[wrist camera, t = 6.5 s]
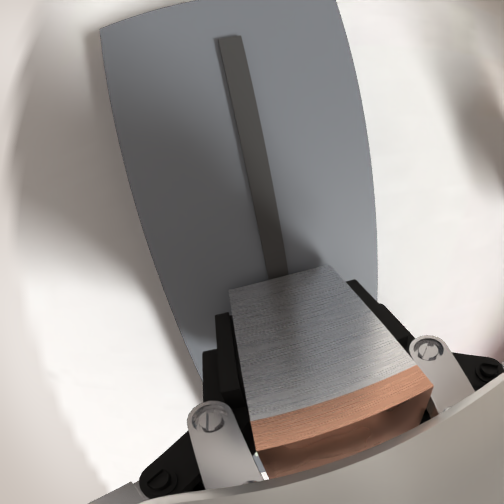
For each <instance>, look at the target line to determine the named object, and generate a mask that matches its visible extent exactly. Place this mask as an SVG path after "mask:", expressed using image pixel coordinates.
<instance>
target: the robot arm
mask: <svg viewBox="0 0 504 504" xmlns="http://www.w3.org/2000/svg"><path fill="white" fill-rule="evenodd" d="M346 283H347V284H348V285H349V286H350V288H351V289H352V290H353V291H354V292H355V293H356V294H357V295H358V296H359V298H360V299H361V300H362V301H363V302H364V303H365V304H366V305H367V307H368V308H369V309H370V310H371V311H372V312H373V313H374V315H375V316H376V317H377V318H378V319H379V320H380V321H381V323H382V324H383V325H384V326H385V327H386V328H387V330H388V331H389V332H390V333H391V334H392V335H393V337H394V338H395V339H396V340H397V341H398V342H399V344H400V345H401V346H402V347H403V348H404V350H405V351H406V352H407V353H408V354H409V356H410V357H411V358H412V359H413V360H414V362H415V363H416V364H417V365H418V367H419V368H420V369H421V370H422V372H423V373H424V374H425V375H426V376H427V378H428V379H429V380H430V381H431V383H432V384H433V385H434V388H433V391H432V393H431V396H430V399H429V402H428V404H427V407H426V409H425V412H424V414H423V417H422V419H421V422H420V424H419V426H417V427H415V428H413V429H411V430H409V431H407V432H405V433H403V434H401V435H399V436H397V437H394V438H392V439H390V440H388V441H386V442H383V443H381V444H379V445H376V446H374V447H372V448H369V449H367V450H364V451H362V452H359V453H357V454H354V455H351V456H349V457H346V458H343V459H340V460H337V461H334V462H331V463H328V464H325V465H322V466H319V467H315V468H312V469H309V470H305V471H302V472H298V473H294V474H290V475H286V476H282V477H278V478H273V479H269V480H264V479H263V477H262V475H261V473H260V471H259V468H258V466H257V464H256V462H255V460H254V458H253V455H254V454H255V453H256V447H255V442H254V437H253V432H252V426H251V421H250V416H249V410H248V405H247V399H246V394H245V388H244V382H243V377H242V371H241V365H240V359H239V353H238V347H237V341H236V335H235V329H234V323H233V316H232V315H230V314H229V312H226V313H222V314H217V315H215V328H216V342H217V349H213V350H208V351H203V353H202V371H203V403H201V404H199V405H197V406H196V407H194V408H193V409H192V410H191V412H190V413H189V415H188V418H187V426H188V431H187V432H186V433H185V434H184V435H183V436H182V437H181V438H180V439H179V440H177V441H176V442H175V443H174V444H173V445H172V446H171V447H170V448H169V449H167V450H166V451H165V452H164V453H163V454H162V455H161V456H160V457H158V458H157V459H156V460H155V461H154V462H153V463H151V464H150V465H149V466H148V467H147V468H146V469H145V470H144V471H143V472H142V474H141V476H140V478H139V481H137V482H136V483H134V484H133V483H132V482H129V483H127V484H126V485H124V486H122V487H120V488H118V489H116V490H114V491H112V492H110V493H108V494H106V495H104V496H102V497H100V498H98V499H96V500H94V501H92V502H90V503H89V504H504V361H503V362H502V364H500V363H499V362H498V361H497V360H495V359H493V358H489V357H481V356H474V355H466V354H459V353H452V352H451V351H450V349H449V348H448V346H447V345H446V343H445V342H444V341H443V340H442V339H440V338H438V337H435V336H430V335H425V336H420V337H418V338H416V339H415V338H414V337H413V336H412V334H411V333H410V332H409V331H408V330H407V329H406V328H405V327H404V326H403V325H402V324H401V323H400V322H399V321H398V319H397V318H396V317H395V316H394V315H393V314H392V313H391V312H390V311H389V310H388V309H387V308H386V307H385V306H384V305H383V304H379V303H378V302H377V301H376V300H375V299H374V298H373V297H372V296H371V295H370V294H369V293H368V292H367V291H366V290H365V289H364V288H363V286H362V285H361V284H360V283H359V282H358V281H357V280H355V279H353V280H349V281H346Z"/></svg>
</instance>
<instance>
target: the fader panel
mask: <svg viewBox="0 0 504 504" xmlns="http://www.w3.org/2000/svg"><path fill="white" fill-rule="evenodd" d="M100 37H101V45H102V53H103V60H104V67H105V73H106V79H107V85H108V91H109V96H110V102H111V107H112V112H113V117H114V122H115V126H116V131H117V135H118V140H119V144H120V148H121V152H122V156H123V161H124V164H125V168H126V172H127V176H128V180H129V183H130V187H131V191H132V194H133V198H134V201H135V205H136V208H137V211H138V215H139V218H140V221H141V225H142V228H143V231H144V234H145V237H146V240H147V243H148V246H149V249H150V252H151V255H152V258H153V261H154V264H155V267H156V270H157V272H158V275H159V278H160V281H161V283H162V286H163V289H164V292H165V294H166V297H167V299H168V302H169V305H170V307H171V310H172V312H173V315H174V317H175V320H176V322H177V325H178V327H179V330H180V332H181V334H182V337H183V339H184V341H185V344H186V346H187V348H188V351H189V353H190V355H191V358H192V360H193V362H194V364H195V367H196V369H197V371H198V373H199V375H200V377H201V380H202V382H203V371H202V353H203V351H208V350H213V349H217V342H216V328H215V315H217V314H222V313H226V312H229V314H230V315H232V310H231V304H230V297H229V291H228V290H230V289H234V288H238V287H242V286H247V285H251V284H255V283H259V282H263V281H267V280H271V279H275V278H279V277H282V276H286V275H290V274H294V273H298V272H302V271H306V270H309V269H313V268H317V267H321V266H324V265H328V264H329V265H330V266H331V267H332V268H333V269H334V270H335V271H336V272H337V273H338V274H339V275H340V277H341V278H342V279H343V280H344V281H345V282H346V281H349V280H353V279H355V280H357V281H358V282H359V283H360V284H361V285H362V286H363V288H364V289H365V290H366V291H367V292H368V293H369V294H370V295H371V296H372V297H373V298H374V299H375V300H376V301H377V285H378V263H377V229H376V211H375V197H374V186H373V176H372V166H371V158H370V150H369V143H368V136H367V129H366V123H365V117H364V111H363V106H362V100H361V95H360V90H359V85H358V80H357V76H356V71H355V67H354V63H353V59H352V55H351V51H350V47H349V43H348V39H347V36H346V32H345V29H344V25H343V22H342V19H341V15H340V12H339V9H338V6H337V3H336V0H195V1H190V2H186V3H181V4H177V5H172V6H168V7H165V8H161V9H157V10H153V11H150V12H147V13H143V14H140V15H137V16H134V17H131V18H128V19H125V20H122V21H119V22H117V23H114V24H111V25H109V26H106V27H103V28H101V29H100ZM253 458H254V460H255V462H256V464H257V466H258V468H259V471H260V473H261V472H266V471H265V469H264V467H263V464H262V462H261V460H260V458H259V456H258V454H257V452H256V453H255V454H254V455H253Z"/></svg>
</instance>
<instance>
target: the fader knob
mask: <svg viewBox="0 0 504 504" xmlns="http://www.w3.org/2000/svg"><path fill="white" fill-rule="evenodd" d="M228 291H229V297H230V304H231V310H232V316H233V323H234V329H235V335H236V341H237V347H238V353H239V359H240V365H241V371H242V377H243V382H244V388H245V394H246V399H247V405H248V410H249V416H250V421H251V426H252V432H253V437H254V442H255V447H256V452H257V454H258V456H259V458H260V460H261V462H262V464H263V467H264V469H265V471H266V473H267V475H268V477H269V479H273V478H278V477H282V476H286V475H290V474H294V473H298V472H302V471H305V470H309V469H312V468H315V467H319V466H322V465H325V464H328V463H331V462H334V461H337V460H340V459H343V458H346V457H349V456H351V455H354V454H357V453H359V452H362V451H364V450H367V449H369V448H372V447H374V446H376V445H379V444H381V443H383V442H386V441H388V440H390V439H392V438H394V437H397V436H399V435H401V434H403V433H405V432H407V431H409V430H411V429H413V428H415V427H417V426H419V424H420V422H421V419H422V417H423V414H424V412H425V409H426V407H427V404H428V402H429V399H430V396H431V393H432V391H433V388H434V385H433V384H432V383H431V381H430V380H429V379H428V378H427V376H426V375H425V374H424V373H423V372H422V370H421V369H420V368H419V367H418V365H417V364H416V363H415V362H414V360H413V359H412V358H411V357H410V356H409V354H408V353H407V352H406V351H405V350H404V348H403V347H402V346H401V345H400V344H399V342H398V341H397V340H396V339H395V338H394V337H393V335H392V334H391V333H390V332H389V331H388V330H387V328H386V327H385V326H384V325H383V324H382V323H381V321H380V320H379V319H378V318H377V317H376V316H375V315H374V313H373V312H372V311H371V310H370V309H369V308H368V307H367V305H366V304H365V303H364V302H363V301H362V300H361V299H360V298H359V296H358V295H357V294H356V293H355V292H354V291H353V290H352V289H351V288H350V286H349V285H348V284H347V283H346V282H345V281H344V280H343V279H342V278H341V277H340V275H339V274H338V273H337V272H336V271H335V270H334V269H333V268H332V267H331V266H330V265H329V264H328V265H324V266H321V267H317V268H313V269H309V270H306V271H302V272H298V273H294V274H290V275H286V276H282V277H279V278H275V279H271V280H267V281H263V282H259V283H255V284H251V285H247V286H242V287H238V288H234V289H230V290H228Z"/></svg>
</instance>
